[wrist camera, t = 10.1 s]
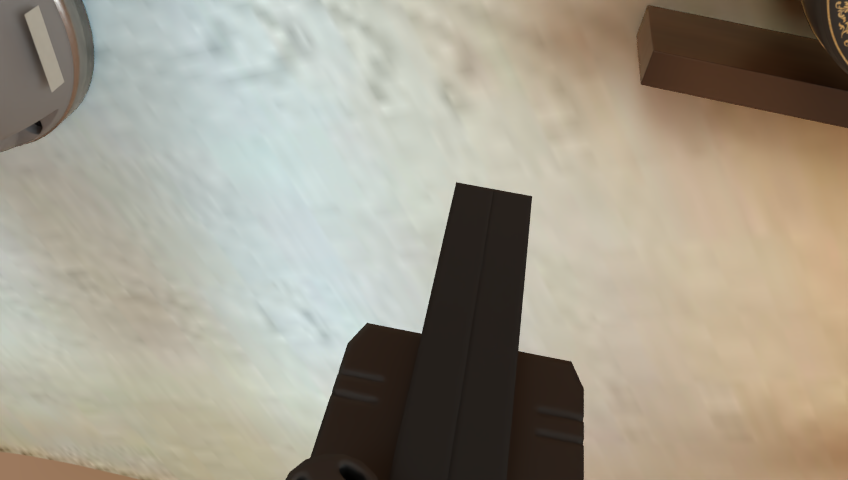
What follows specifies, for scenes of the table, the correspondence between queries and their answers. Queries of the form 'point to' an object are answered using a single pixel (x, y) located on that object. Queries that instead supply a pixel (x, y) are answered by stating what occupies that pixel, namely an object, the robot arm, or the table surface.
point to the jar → (830, 27)
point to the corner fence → (741, 66)
